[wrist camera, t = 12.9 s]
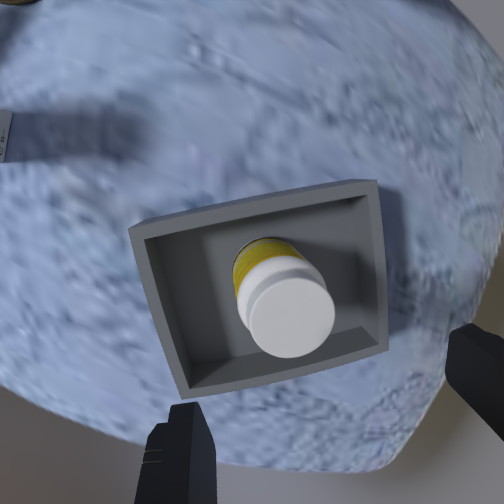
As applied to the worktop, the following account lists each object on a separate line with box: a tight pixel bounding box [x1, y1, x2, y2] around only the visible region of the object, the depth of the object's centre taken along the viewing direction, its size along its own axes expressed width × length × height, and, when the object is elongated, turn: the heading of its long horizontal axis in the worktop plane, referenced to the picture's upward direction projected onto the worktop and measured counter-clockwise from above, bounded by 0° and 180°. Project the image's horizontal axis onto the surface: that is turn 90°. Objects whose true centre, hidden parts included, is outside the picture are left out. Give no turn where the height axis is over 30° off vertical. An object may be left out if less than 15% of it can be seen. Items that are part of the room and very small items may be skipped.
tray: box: [128, 179, 389, 399], centre depth 21 cm, size 12×15×4 cm
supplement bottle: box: [232, 236, 335, 358], centre depth 18 cm, size 5×5×8 cm
